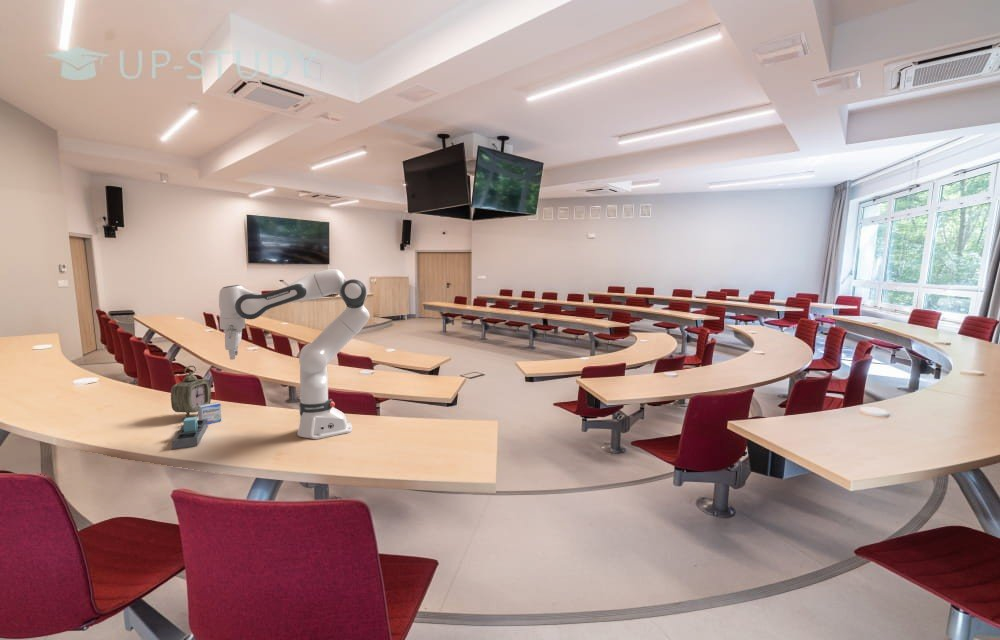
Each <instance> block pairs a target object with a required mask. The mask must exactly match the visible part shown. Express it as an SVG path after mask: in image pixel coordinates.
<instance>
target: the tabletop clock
mask: <svg viewBox="0 0 1000 640" xmlns="http://www.w3.org/2000/svg"><path fill="white" fill-rule="evenodd" d="M189 368H193V369H194V370H193V371H188V373H187V372H186V371H187V370H188V369H189ZM196 368H197V367H196V366H194V365H188V366H186V367H185V368H184V369H183V373H184V374H185V375H186V376H185V377H184V378H183V380H181V381H179V382H177V383H176V384H173V385H172V386H171V389H170V402H171V408H172V411H174V412H175V413H186V414H185V418H191V417H190V415H191V414H190V413H192V414H193V413H198V406H200V405H205V404H210V403H211V401H212V399H211V398H212V390H211V383H210V380H209V379H199V378H197V376H196V375H194V374H195V372H196V371H197V369H196Z"/></svg>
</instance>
